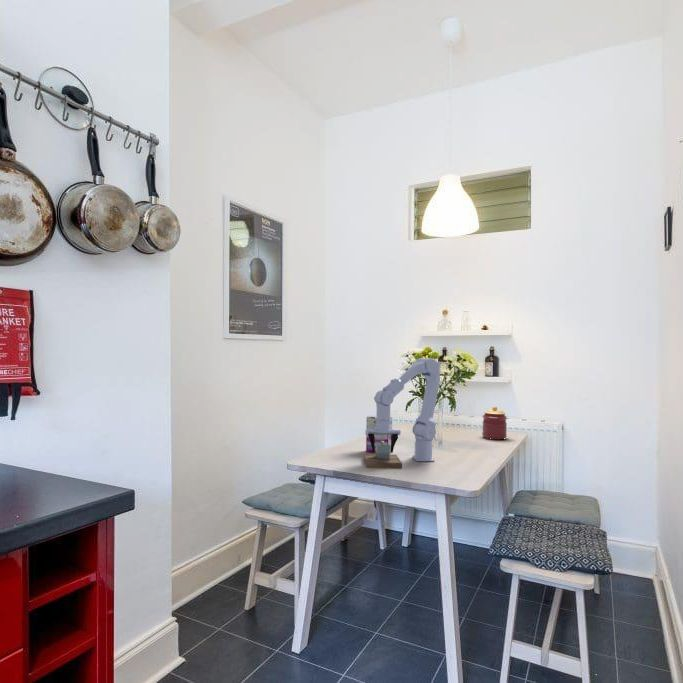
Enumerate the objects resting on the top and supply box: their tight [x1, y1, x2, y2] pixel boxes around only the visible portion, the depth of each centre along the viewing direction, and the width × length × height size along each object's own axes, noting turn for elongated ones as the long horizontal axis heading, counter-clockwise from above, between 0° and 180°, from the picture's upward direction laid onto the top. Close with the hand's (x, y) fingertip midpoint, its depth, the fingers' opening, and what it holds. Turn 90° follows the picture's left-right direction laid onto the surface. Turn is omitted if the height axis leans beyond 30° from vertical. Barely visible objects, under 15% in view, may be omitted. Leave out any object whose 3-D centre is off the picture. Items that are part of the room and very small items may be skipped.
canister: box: [481, 406, 508, 440], centre depth 270 cm, size 13×13×18 cm
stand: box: [363, 453, 403, 469], centre depth 203 cm, size 16×14×2 cm
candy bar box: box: [365, 415, 393, 454], centre depth 225 cm, size 11×5×16 cm, turn 62°
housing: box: [374, 441, 391, 461], centre depth 204 cm, size 5×8×7 cm, turn 2°
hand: (382, 452), depth 203 cm, fingers open, 7 cm apart
